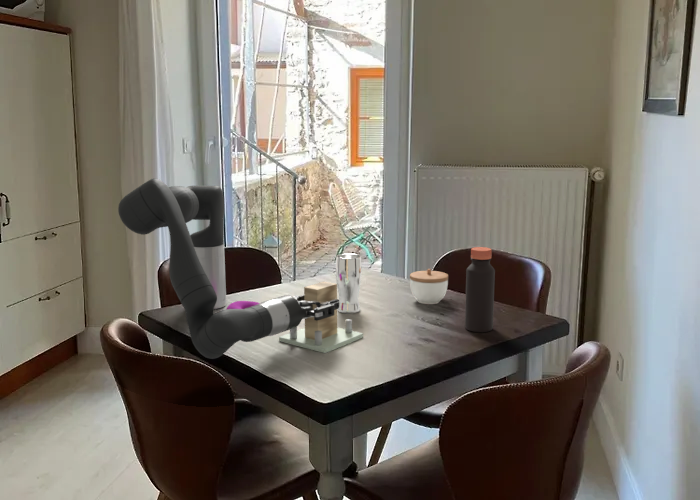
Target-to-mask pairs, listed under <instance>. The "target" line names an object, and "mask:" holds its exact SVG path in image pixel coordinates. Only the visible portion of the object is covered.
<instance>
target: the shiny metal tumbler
mask: <svg viewBox="0 0 700 500" xmlns="http://www.w3.org/2000/svg"><path fill="white" fill-rule="evenodd" d="M335 259H336V260H335V279H336V280H335V281H336V284H337V293H338V300H339V308H338V309H337V313H341V314H348V315H349V314H356V313H359V312H360V311H361V306H360V299H359V297H360V289H361V283H362V275H363V273H362V272H363V269H362V256H361V254H358V253H342V254H341V253H340V254H337V255H336V258H335Z"/></svg>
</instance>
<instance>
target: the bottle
mask: <svg viewBox="0 0 700 500" xmlns="http://www.w3.org/2000/svg"><path fill="white" fill-rule="evenodd" d="M470 248H471V249H470V260H471V264H469V265H468V267H467V268H466V270H465V271H466V272H465V274H466V275H465V277H466V278H465V307H464V308H465V311H464V312H465V314H464V327H465V329H466V330H467V331H469V332H473V333H488V332H490V331H492V330H493V328H494V309H495V307H494V306H495V304H494V303H495V283H496V282H495V280H496V278H495V276H496V269H495V268H494V267H493V266H492V264H491V260H492V251H493V249H492V248H490V247H485V246H483V247H482V246H476V247H470Z"/></svg>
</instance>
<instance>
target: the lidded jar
mask: <svg viewBox="0 0 700 500" xmlns="http://www.w3.org/2000/svg"><path fill="white" fill-rule="evenodd" d="M448 285H449V274H448V273H445V272H443V271H437V270H431V268H427V269H426V270H419V271H413V272H411V273H410V274H409V286H410V291H411V293H412V296H413V297H414V299H416V301H417V302H418V303H419V304H421V305H436V304H439V303H440V301H441V300H443V299H444V298H445V295H446V293H447V290H448Z"/></svg>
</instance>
